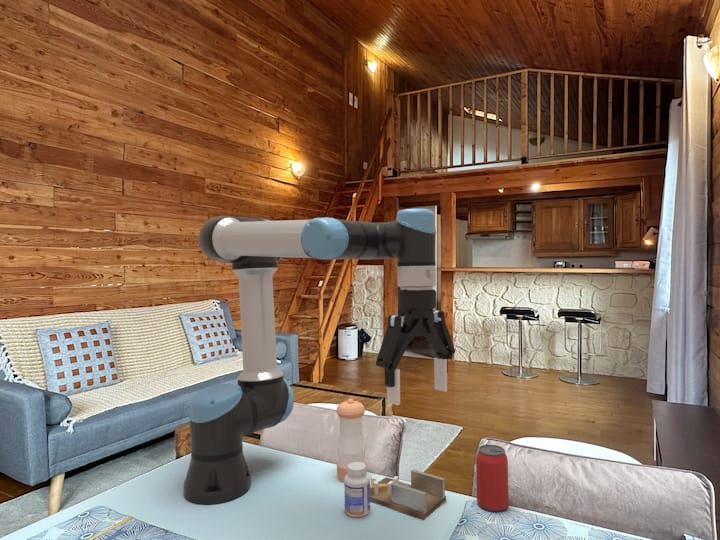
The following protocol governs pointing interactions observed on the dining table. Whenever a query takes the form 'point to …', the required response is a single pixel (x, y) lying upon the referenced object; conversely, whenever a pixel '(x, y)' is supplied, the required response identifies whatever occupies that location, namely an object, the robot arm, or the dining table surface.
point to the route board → (386, 500)
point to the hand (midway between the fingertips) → (418, 396)
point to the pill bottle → (357, 490)
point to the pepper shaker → (350, 436)
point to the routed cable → (382, 485)
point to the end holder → (418, 491)
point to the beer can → (492, 478)
